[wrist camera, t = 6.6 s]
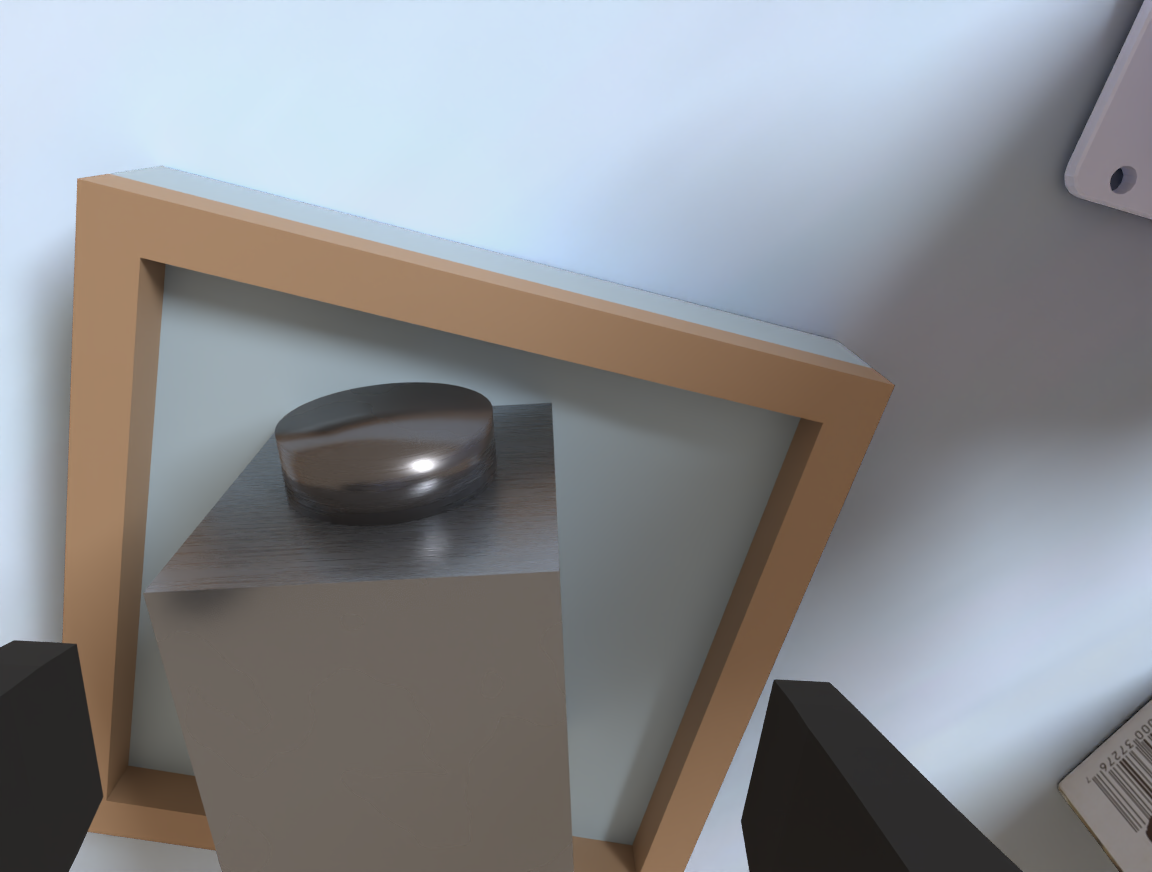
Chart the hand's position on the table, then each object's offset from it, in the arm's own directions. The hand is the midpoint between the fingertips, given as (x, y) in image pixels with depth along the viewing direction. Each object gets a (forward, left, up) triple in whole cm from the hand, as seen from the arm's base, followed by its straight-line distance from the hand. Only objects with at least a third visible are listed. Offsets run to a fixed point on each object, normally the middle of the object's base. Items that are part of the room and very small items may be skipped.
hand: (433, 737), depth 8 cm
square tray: (0, +4, -10) cm, 10 cm away
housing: (0, +3, -8) cm, 8 cm away
